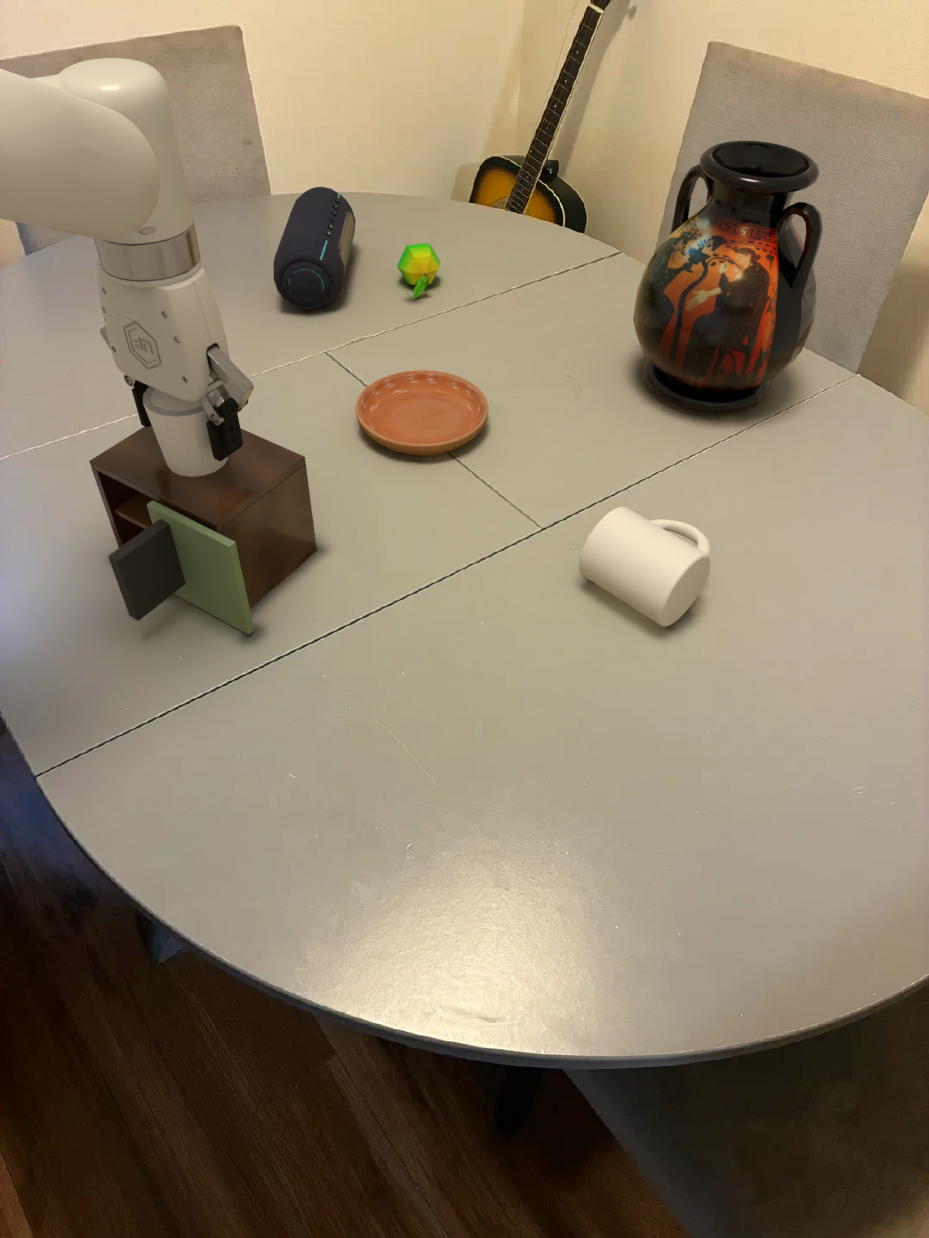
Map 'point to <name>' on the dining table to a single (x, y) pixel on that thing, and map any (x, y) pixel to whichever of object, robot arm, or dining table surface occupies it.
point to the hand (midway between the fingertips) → (192, 435)
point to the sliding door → (182, 569)
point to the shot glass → (182, 432)
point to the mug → (647, 563)
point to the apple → (419, 266)
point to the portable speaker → (314, 249)
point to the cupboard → (218, 501)
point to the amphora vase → (731, 281)
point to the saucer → (422, 412)
